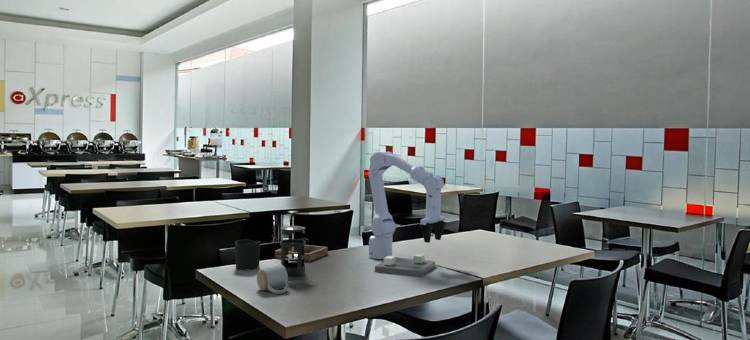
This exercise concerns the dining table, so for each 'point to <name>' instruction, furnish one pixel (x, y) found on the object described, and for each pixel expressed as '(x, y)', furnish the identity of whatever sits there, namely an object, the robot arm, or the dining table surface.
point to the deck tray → (311, 254)
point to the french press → (292, 267)
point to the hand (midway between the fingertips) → (432, 240)
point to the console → (406, 267)
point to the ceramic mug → (273, 279)
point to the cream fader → (389, 260)
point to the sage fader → (419, 258)
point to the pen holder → (247, 254)
